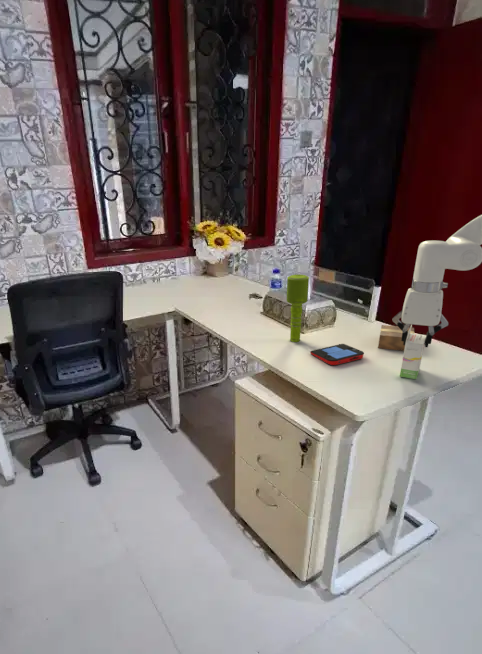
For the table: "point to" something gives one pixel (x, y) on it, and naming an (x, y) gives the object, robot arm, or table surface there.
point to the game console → (338, 354)
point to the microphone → (296, 302)
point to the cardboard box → (391, 338)
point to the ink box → (412, 355)
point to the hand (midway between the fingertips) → (415, 344)
